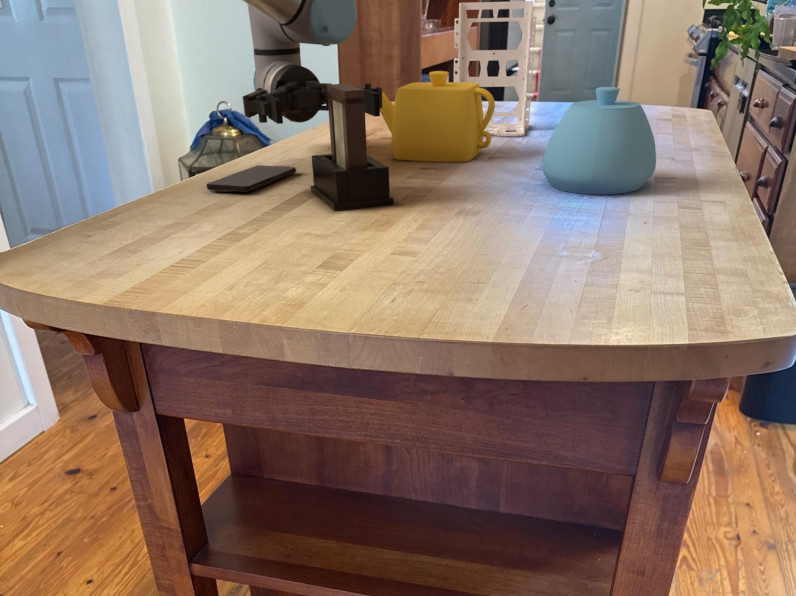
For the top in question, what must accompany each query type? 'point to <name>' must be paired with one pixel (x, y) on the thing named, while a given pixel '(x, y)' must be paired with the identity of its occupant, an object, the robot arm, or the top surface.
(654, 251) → the top surface
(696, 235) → the top surface
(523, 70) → the white perforated rack
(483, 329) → the top surface
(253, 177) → the smartphone
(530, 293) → the top surface
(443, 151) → the teapot
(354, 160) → the frame
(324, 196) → the holder
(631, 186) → the sugar bowl
